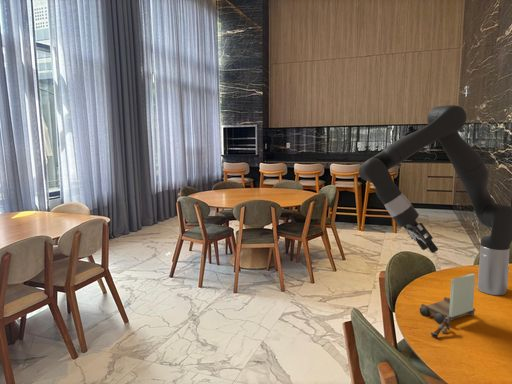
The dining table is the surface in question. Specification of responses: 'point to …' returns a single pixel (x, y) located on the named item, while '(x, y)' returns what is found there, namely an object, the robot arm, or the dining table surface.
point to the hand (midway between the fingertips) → (430, 250)
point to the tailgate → (462, 295)
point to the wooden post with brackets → (436, 333)
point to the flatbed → (441, 311)
